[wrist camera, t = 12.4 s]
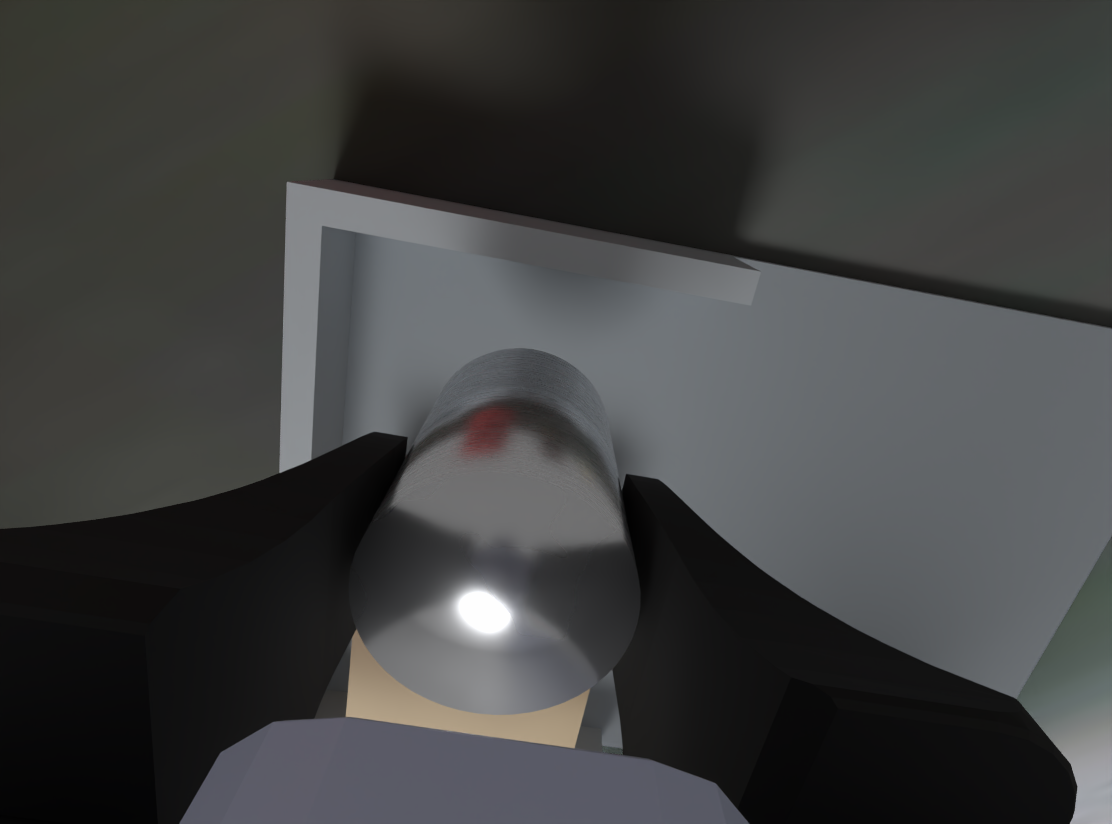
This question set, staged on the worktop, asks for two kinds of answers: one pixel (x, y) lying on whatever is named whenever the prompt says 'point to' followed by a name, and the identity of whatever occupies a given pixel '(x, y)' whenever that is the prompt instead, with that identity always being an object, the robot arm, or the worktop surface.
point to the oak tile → (396, 703)
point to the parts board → (737, 409)
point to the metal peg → (502, 544)
